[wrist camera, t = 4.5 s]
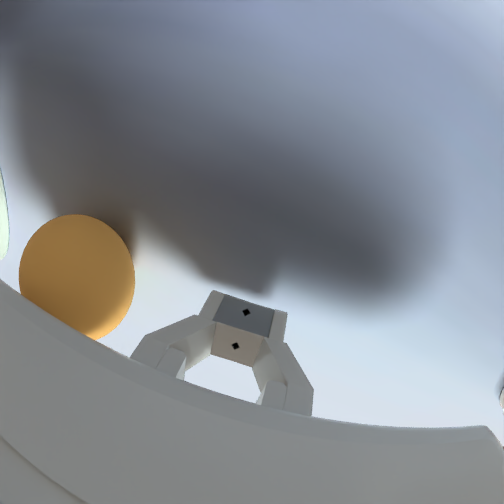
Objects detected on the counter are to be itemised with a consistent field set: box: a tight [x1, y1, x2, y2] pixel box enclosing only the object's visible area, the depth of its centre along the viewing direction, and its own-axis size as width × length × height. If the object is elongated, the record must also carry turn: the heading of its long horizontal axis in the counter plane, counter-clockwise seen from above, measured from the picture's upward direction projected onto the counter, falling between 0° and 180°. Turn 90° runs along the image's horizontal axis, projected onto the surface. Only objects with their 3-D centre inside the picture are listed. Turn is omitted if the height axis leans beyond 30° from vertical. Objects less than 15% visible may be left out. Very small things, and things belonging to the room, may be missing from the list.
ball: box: [19, 214, 135, 340], centre depth 10 cm, size 6×6×6 cm
